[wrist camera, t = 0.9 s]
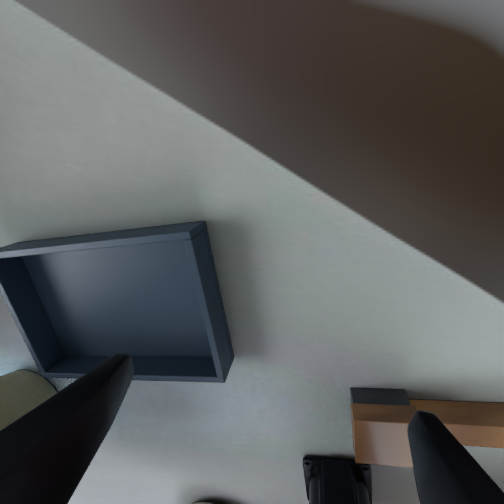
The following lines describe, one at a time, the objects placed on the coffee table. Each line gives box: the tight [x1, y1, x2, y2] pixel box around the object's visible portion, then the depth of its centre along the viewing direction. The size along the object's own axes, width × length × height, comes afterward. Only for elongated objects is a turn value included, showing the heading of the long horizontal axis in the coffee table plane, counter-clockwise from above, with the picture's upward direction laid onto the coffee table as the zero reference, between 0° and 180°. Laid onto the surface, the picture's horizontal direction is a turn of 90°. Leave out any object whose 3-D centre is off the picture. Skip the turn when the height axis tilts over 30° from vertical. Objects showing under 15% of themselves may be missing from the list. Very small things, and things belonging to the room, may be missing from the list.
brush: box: [350, 388, 504, 468], centre depth 22 cm, size 13×5×3 cm, turn 99°
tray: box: [0, 221, 234, 383], centre depth 24 cm, size 13×19×3 cm
